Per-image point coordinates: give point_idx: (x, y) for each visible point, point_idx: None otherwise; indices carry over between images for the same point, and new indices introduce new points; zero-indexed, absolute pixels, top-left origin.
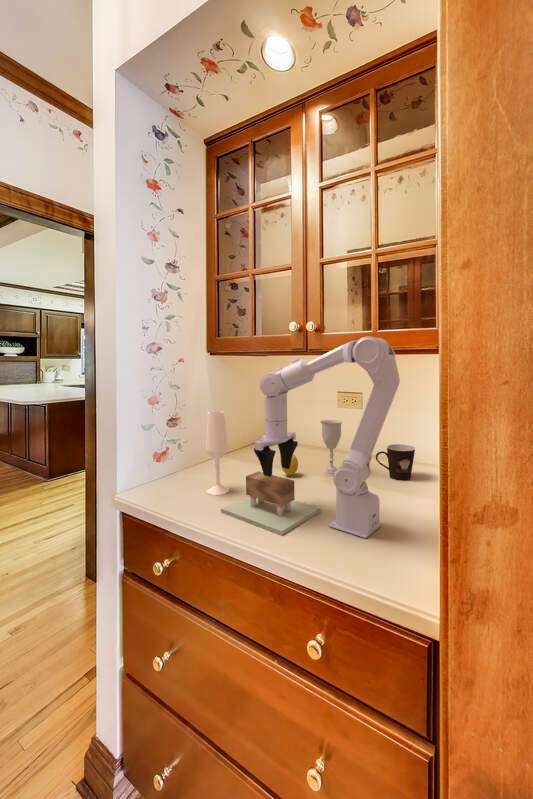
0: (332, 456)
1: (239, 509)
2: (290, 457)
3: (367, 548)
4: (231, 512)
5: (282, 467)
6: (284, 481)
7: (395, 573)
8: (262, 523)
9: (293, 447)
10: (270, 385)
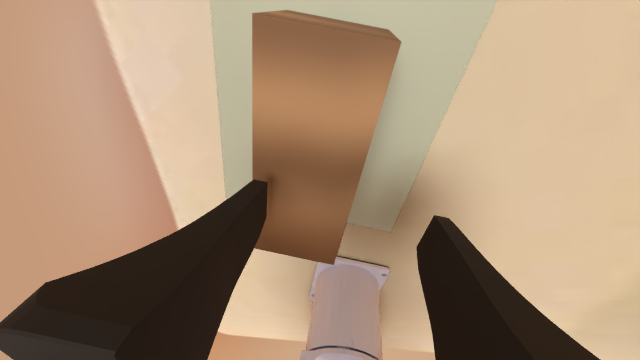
0: None
1: (251, 4)
2: (435, 326)
3: (284, 298)
4: None
5: (432, 220)
6: (304, 240)
7: (249, 318)
8: (223, 143)
9: None
10: None
